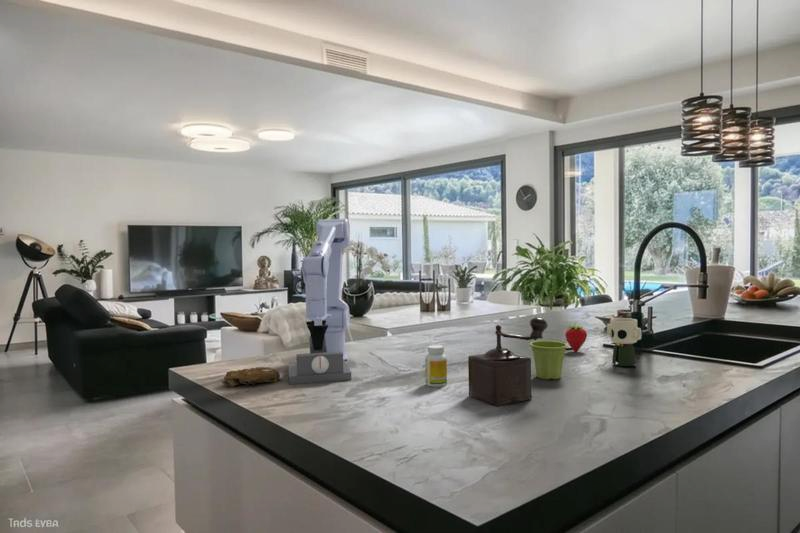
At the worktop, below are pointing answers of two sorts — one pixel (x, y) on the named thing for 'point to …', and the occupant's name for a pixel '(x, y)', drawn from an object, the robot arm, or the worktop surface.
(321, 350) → the block
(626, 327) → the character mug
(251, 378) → the decorative rock
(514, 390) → the manual coffee grinder
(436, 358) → the supplement bottle
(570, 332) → the strawberry
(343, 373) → the scale
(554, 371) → the plant pot
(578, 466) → the worktop surface
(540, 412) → the worktop surface
